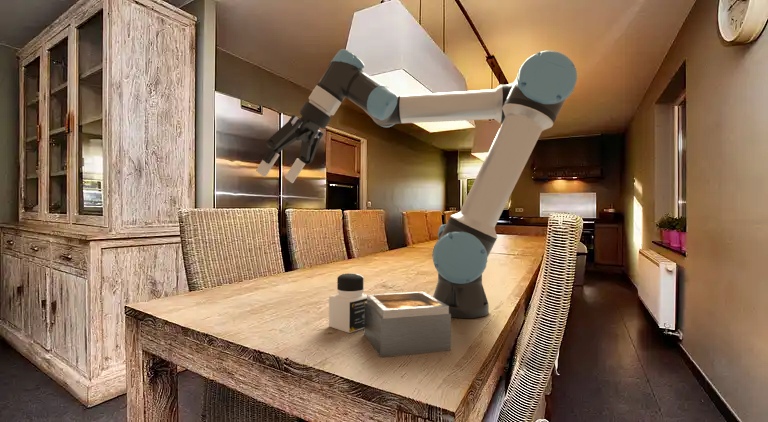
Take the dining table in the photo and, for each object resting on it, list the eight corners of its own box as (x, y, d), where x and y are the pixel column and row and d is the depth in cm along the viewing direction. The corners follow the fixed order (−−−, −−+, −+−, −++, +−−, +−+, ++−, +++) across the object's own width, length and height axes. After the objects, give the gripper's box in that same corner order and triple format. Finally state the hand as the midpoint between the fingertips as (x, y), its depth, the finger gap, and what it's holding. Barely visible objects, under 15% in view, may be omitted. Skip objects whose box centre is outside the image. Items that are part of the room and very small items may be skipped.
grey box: (424, 328, 82) (425, 291, 82) (450, 350, 70) (451, 305, 70) (364, 334, 79) (364, 294, 79) (380, 357, 66) (380, 310, 66)
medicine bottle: (349, 333, 79) (350, 278, 79) (328, 326, 83) (328, 274, 83) (372, 326, 84) (372, 274, 84) (350, 320, 89) (351, 270, 89)
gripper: (328, 115, 106) (289, 175, 108) (283, 82, 81) (234, 161, 84) (348, 128, 104) (307, 189, 106) (308, 99, 80) (257, 179, 82)
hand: (275, 177), depth 95 cm, fingers open, 13 cm apart
